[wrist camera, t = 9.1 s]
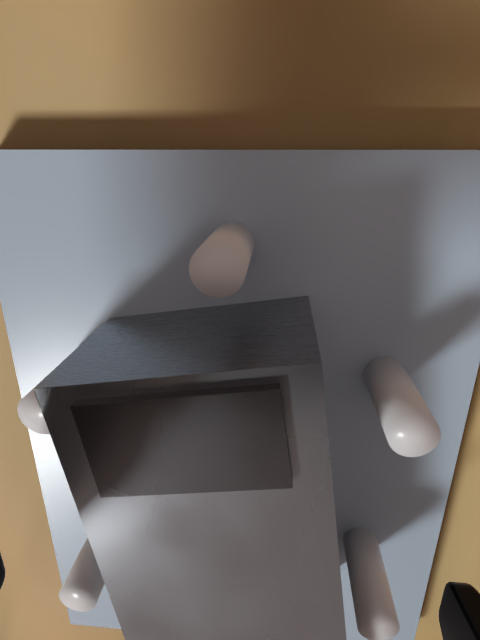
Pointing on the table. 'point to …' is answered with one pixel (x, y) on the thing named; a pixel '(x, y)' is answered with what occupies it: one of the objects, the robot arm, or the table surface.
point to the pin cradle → (258, 285)
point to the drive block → (204, 471)
